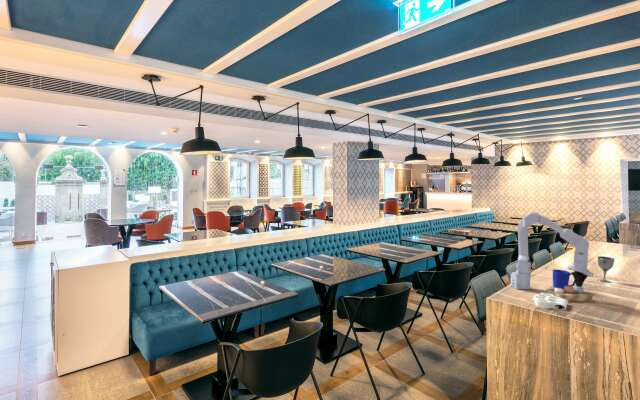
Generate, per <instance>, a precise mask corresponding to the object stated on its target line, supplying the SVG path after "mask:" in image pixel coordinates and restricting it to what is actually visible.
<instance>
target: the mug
mask: <svg viewBox="0 0 640 400" xmlns="http://www.w3.org/2000/svg"><path fill="white" fill-rule="evenodd" d="M571 275H572V272H570V271H567V270H564V269H563V270H562V269H552V286H553V288H562V289H564V286H571V287H574V286H576V283H575V279H574V278H573V282H572V284H569V282H570V276H571ZM572 276H573V275H572Z"/></svg>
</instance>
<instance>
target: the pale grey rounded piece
mask: <svg viewBox="0 0 640 400" xmlns="http://www.w3.org/2000/svg"><path fill="white" fill-rule="evenodd" d="M553 289H554V292H556V293H564V289H562V288H555V287H553Z"/></svg>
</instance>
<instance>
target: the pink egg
mask: <svg viewBox="0 0 640 400" xmlns="http://www.w3.org/2000/svg"><path fill="white" fill-rule="evenodd" d="M564 292H565V293H568V294H573V292H574V286H572V287H571V286H564Z"/></svg>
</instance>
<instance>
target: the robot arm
mask: <svg viewBox="0 0 640 400" xmlns="http://www.w3.org/2000/svg"><path fill="white" fill-rule="evenodd" d="M537 223H538V225H544V226H546V227H548V228H550V229H552V230H553V231H555V232H557V233H558V234H559V237H560V238H561V239H563V240H565V241H566V242H568V243H569V244H571V245H574V247H575V248H574V253H573V254H574V255H573V265H567V270H571V273H572V277H573V280H574V279H575V286H578V287H583V284H584V282H585V280H586V279H587V278H588V277H590V278H591V277H592V278H593V277H594V272H591V271H590V270H589V269H588V262H589V247H590V245H589V243H590V242H589V241H588V239H586V238H585V237H583V235H579V234H577V233H576V232H574V230H573V229H569V228H563V227H561V226H560V225H559V224H557V223H556V222H554V221H553V220H551V219H549V218H548V217H546V216H544V215H543V214H540V213H539V212H537V211H532V212H529V213H527V214H525V215H524V216H523V218H522V219H521V220H520V221H519V223H517V240H518V241H517V245H518V246H517V247H518V257H517V263H516V265H515V266H516V269H515V270H516V271H512V272H511V274H510V283H509V286H511V287H512V288H514V289H517V290H534V288H533V287H531V276H532V272H531V271H530V269H531V267H532V263H531V262H530V256H529V239H528V237H529V234H528V231H529V230H528V229H529V228H530V227H531V226H532V225H535V224H537Z"/></svg>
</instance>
